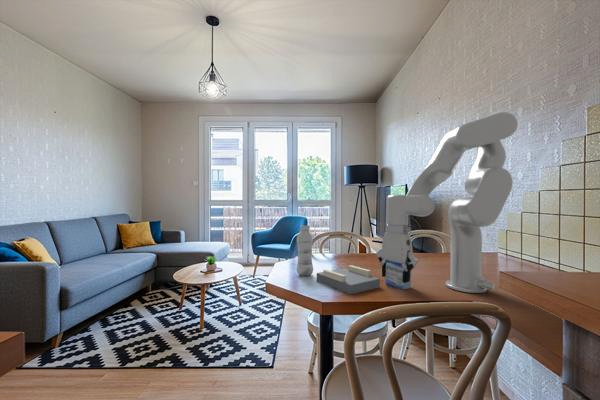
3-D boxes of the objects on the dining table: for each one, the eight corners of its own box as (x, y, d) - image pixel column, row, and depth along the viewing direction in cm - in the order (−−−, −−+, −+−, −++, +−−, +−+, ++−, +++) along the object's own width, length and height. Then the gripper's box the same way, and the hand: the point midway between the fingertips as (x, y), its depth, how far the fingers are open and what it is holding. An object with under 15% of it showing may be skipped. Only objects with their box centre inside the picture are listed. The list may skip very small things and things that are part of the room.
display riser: (379, 287, 100) (379, 272, 100) (350, 294, 92) (351, 278, 92) (343, 275, 115) (344, 263, 115) (316, 281, 107) (316, 267, 107)
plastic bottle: (313, 277, 111) (313, 226, 111) (296, 277, 112) (296, 226, 112) (312, 273, 118) (313, 225, 118) (296, 273, 118) (297, 225, 118)
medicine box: (385, 284, 104) (385, 260, 104) (392, 282, 106) (393, 259, 106) (403, 289, 97) (404, 264, 97) (411, 287, 100) (411, 262, 100)
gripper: (425, 231, 96) (424, 283, 96) (383, 227, 110) (382, 272, 110) (412, 232, 92) (410, 287, 92) (370, 227, 106) (369, 274, 106)
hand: (395, 278), depth 101 cm, fingers closed on medicine box, 8 cm apart
